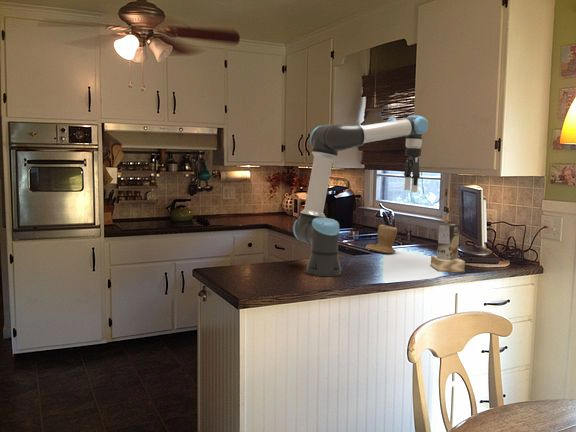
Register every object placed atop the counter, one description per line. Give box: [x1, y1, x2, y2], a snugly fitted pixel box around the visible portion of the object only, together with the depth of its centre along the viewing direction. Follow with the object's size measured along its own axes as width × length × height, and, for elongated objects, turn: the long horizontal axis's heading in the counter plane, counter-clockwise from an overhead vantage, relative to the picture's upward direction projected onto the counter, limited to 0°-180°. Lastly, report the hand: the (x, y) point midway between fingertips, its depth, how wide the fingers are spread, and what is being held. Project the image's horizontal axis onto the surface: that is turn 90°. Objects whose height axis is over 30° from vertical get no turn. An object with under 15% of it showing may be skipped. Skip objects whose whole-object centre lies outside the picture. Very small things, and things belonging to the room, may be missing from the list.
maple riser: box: [429, 255, 466, 273], centre depth 259 cm, size 12×12×5 cm
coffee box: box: [436, 223, 461, 260], centre depth 258 cm, size 9×6×16 cm
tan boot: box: [365, 224, 398, 254], centre depth 298 cm, size 15×12×15 cm
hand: (410, 191), depth 272 cm, fingers open, 13 cm apart
